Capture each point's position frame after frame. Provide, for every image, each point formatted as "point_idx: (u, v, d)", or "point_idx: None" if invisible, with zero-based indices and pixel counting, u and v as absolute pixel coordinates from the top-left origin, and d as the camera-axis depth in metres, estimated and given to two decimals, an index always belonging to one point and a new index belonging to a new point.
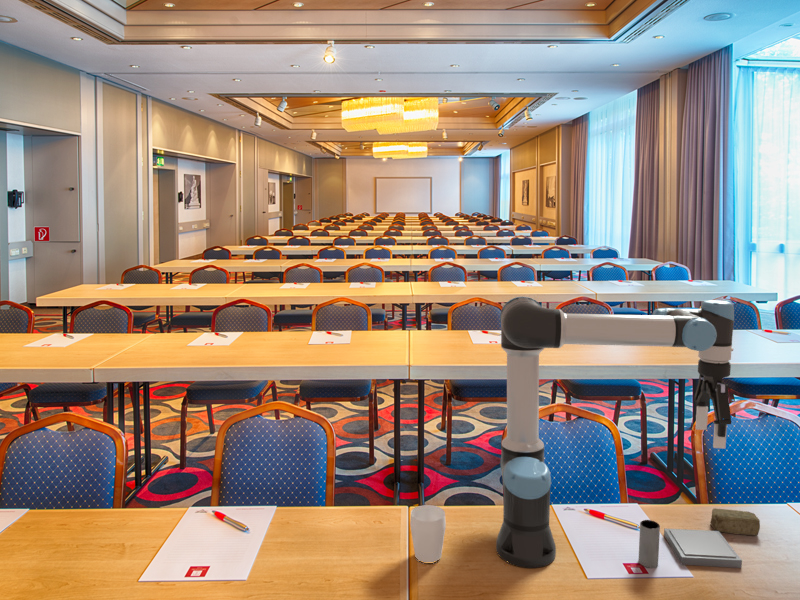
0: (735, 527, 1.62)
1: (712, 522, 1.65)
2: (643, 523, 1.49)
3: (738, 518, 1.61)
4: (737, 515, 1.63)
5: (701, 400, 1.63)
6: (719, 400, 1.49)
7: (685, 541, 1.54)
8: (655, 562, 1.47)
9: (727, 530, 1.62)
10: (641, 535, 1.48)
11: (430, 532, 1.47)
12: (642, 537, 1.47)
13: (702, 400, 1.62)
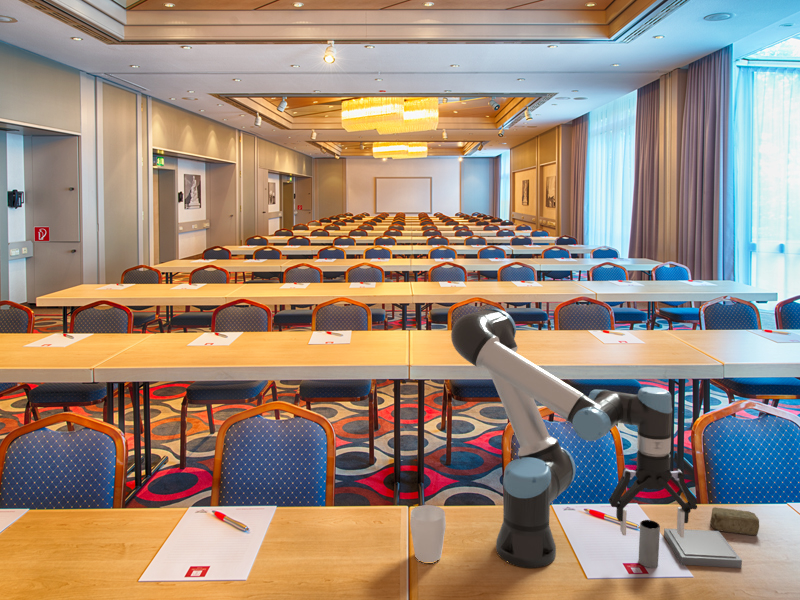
0: (734, 526, 1.62)
1: (711, 521, 1.66)
2: (643, 523, 1.49)
3: (737, 517, 1.62)
4: (736, 514, 1.63)
5: None
6: (619, 482, 1.48)
7: (685, 541, 1.54)
8: (655, 562, 1.47)
9: (726, 529, 1.63)
10: (641, 535, 1.48)
11: (430, 532, 1.47)
12: (642, 537, 1.47)
13: None
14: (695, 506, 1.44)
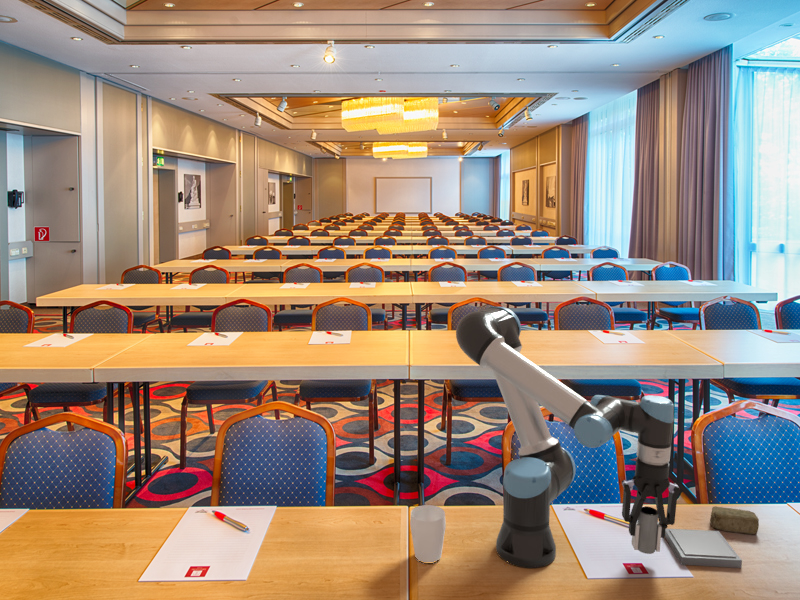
0: (733, 525, 1.63)
1: (711, 520, 1.66)
2: (642, 509, 1.49)
3: (736, 516, 1.62)
4: (736, 513, 1.64)
5: None
6: (623, 495, 1.49)
7: (685, 541, 1.54)
8: (652, 548, 1.47)
9: (725, 528, 1.63)
10: (639, 521, 1.47)
11: (430, 532, 1.47)
12: (640, 523, 1.47)
13: (658, 513, 1.48)
14: (673, 522, 1.46)
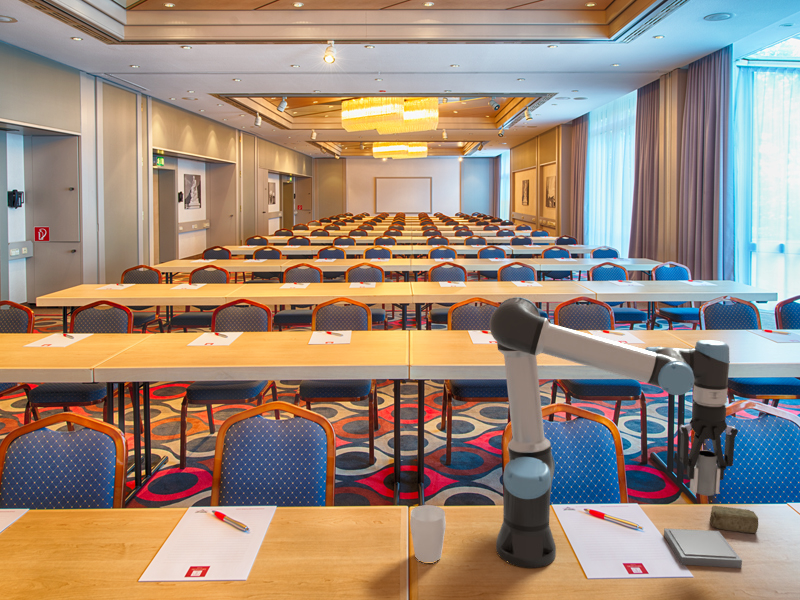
0: (733, 524, 1.63)
1: (711, 519, 1.67)
2: (699, 453, 1.52)
3: (736, 515, 1.63)
4: (735, 512, 1.64)
5: None
6: (681, 440, 1.52)
7: (685, 541, 1.54)
8: (712, 490, 1.50)
9: (725, 527, 1.64)
10: (698, 464, 1.50)
11: (430, 532, 1.47)
12: (699, 466, 1.50)
13: None
14: (731, 464, 1.49)
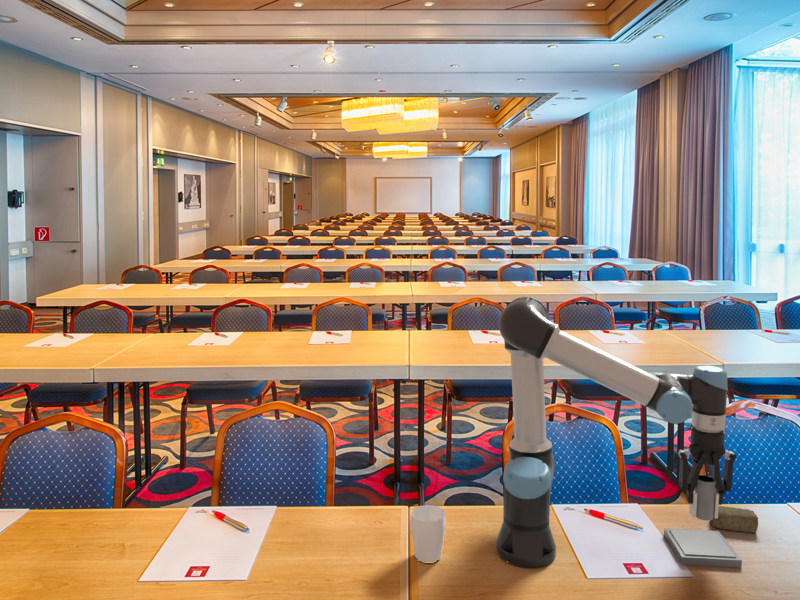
0: (733, 524, 1.63)
1: None
2: (698, 478, 1.53)
3: (736, 515, 1.63)
4: (735, 512, 1.64)
5: None
6: (680, 465, 1.53)
7: (685, 541, 1.54)
8: (711, 515, 1.50)
9: (725, 527, 1.64)
10: (697, 489, 1.51)
11: (430, 532, 1.47)
12: (698, 491, 1.51)
13: None
14: (730, 489, 1.50)
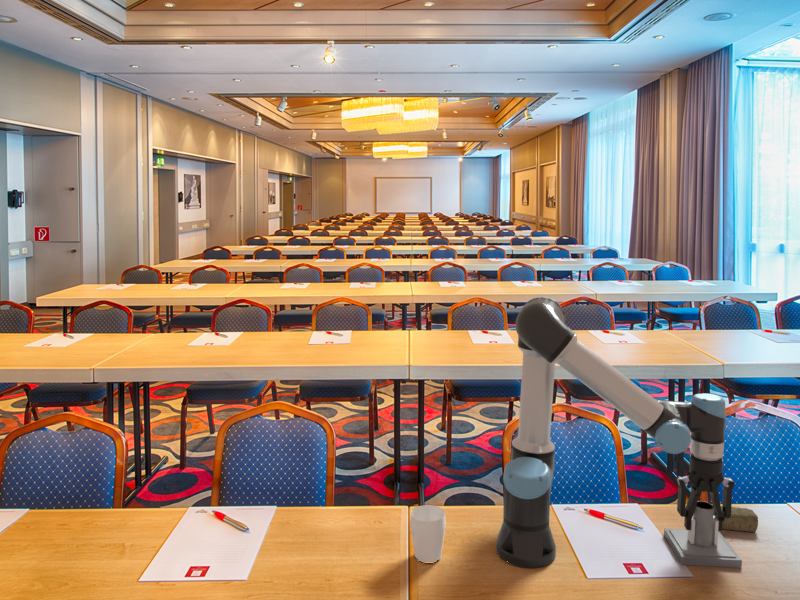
0: (734, 524, 1.63)
1: None
2: (697, 504, 1.54)
3: (736, 514, 1.63)
4: (735, 511, 1.65)
5: None
6: (678, 491, 1.54)
7: (685, 541, 1.54)
8: (709, 542, 1.51)
9: (726, 527, 1.64)
10: (695, 516, 1.52)
11: (430, 532, 1.47)
12: (696, 517, 1.52)
13: (714, 507, 1.53)
14: (729, 515, 1.51)
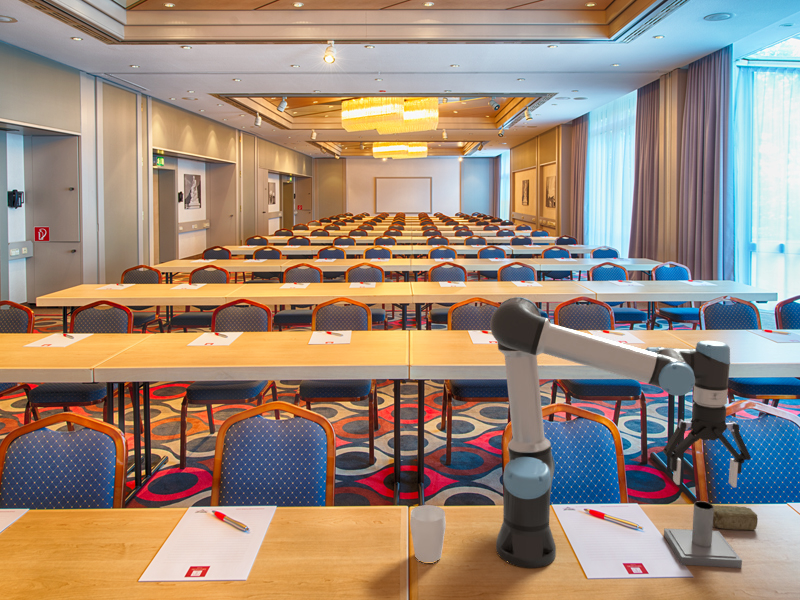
0: (734, 523, 1.64)
1: None
2: (697, 504, 1.54)
3: (737, 514, 1.64)
4: (735, 511, 1.65)
5: (729, 451, 1.51)
6: (674, 433, 1.52)
7: (685, 541, 1.54)
8: (709, 542, 1.51)
9: (727, 526, 1.64)
10: (695, 516, 1.52)
11: (430, 532, 1.47)
12: (696, 517, 1.52)
13: None
14: (749, 457, 1.48)
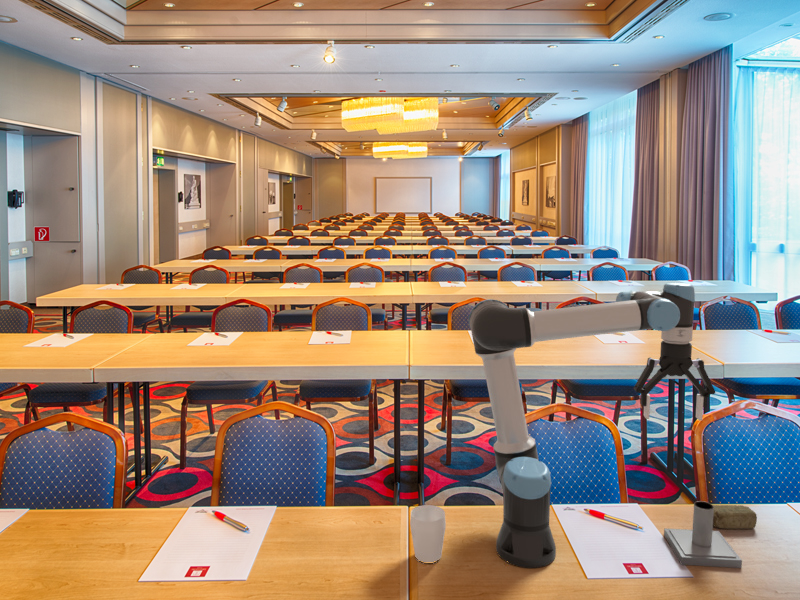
0: (734, 522, 1.64)
1: None
2: (697, 504, 1.54)
3: (737, 513, 1.64)
4: (734, 510, 1.66)
5: None
6: (643, 371, 1.62)
7: (685, 541, 1.54)
8: (709, 542, 1.51)
9: (727, 526, 1.64)
10: (695, 516, 1.52)
11: (430, 532, 1.47)
12: (696, 517, 1.52)
13: (696, 387, 1.60)
14: (713, 391, 1.58)
